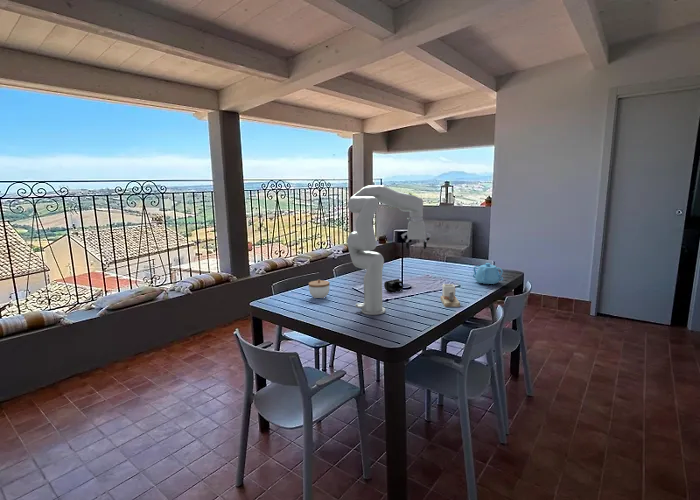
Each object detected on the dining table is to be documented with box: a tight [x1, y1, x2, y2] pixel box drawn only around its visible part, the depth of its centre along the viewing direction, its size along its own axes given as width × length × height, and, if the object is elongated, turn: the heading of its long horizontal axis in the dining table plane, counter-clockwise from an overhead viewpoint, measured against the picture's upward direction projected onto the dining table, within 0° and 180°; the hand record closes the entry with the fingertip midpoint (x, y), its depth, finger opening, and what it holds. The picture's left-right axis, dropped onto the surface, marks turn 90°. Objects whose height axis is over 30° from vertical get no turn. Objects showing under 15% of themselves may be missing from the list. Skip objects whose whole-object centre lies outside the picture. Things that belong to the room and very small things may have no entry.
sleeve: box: [441, 283, 456, 299], centre depth 205 cm, size 6×6×7 cm
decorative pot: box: [472, 262, 504, 285], centre depth 242 cm, size 16×16×14 cm
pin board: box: [440, 292, 461, 308], centre depth 201 cm, size 8×14×7 cm, turn 175°
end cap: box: [383, 278, 404, 293], centre depth 231 cm, size 10×7×7 cm
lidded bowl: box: [308, 279, 331, 299], centre depth 219 cm, size 13×13×11 cm
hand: (416, 248), depth 214 cm, fingers open, 9 cm apart
